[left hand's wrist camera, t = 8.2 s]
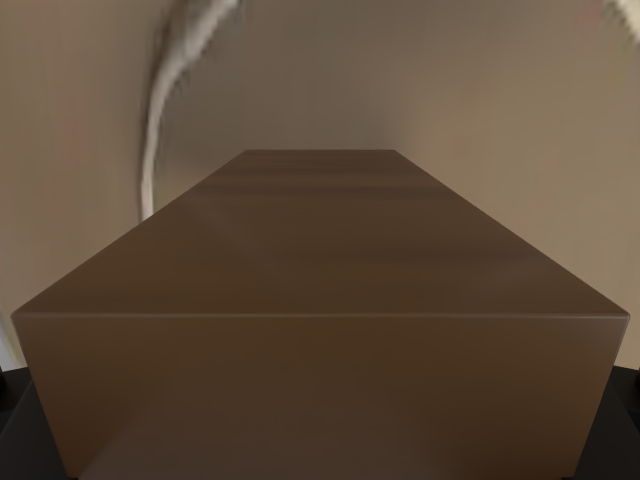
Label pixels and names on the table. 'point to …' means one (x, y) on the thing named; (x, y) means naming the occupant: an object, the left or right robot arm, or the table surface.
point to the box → (320, 335)
